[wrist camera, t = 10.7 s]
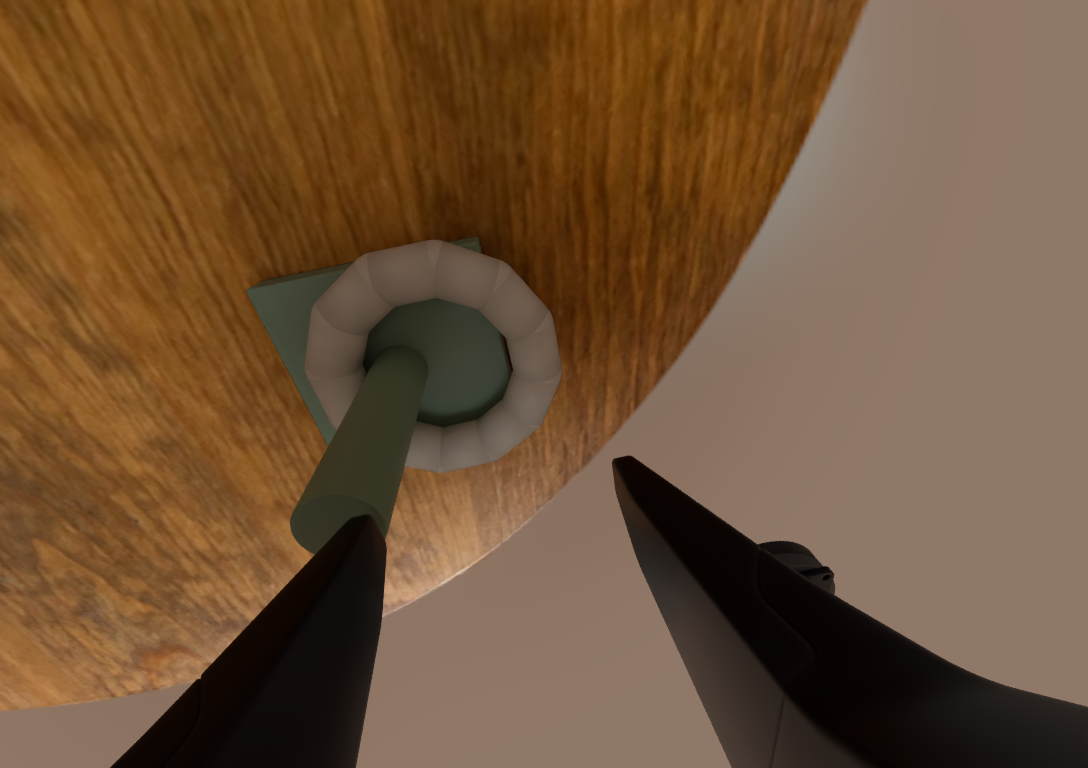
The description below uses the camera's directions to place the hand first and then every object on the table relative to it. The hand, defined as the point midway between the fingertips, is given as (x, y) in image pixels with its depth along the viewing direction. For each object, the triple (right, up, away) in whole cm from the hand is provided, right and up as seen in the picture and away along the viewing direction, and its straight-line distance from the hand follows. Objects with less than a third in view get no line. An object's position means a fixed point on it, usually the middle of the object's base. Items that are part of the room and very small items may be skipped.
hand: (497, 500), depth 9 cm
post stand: (-5, +4, +8) cm, 10 cm away
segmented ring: (-3, +3, +6) cm, 8 cm away
